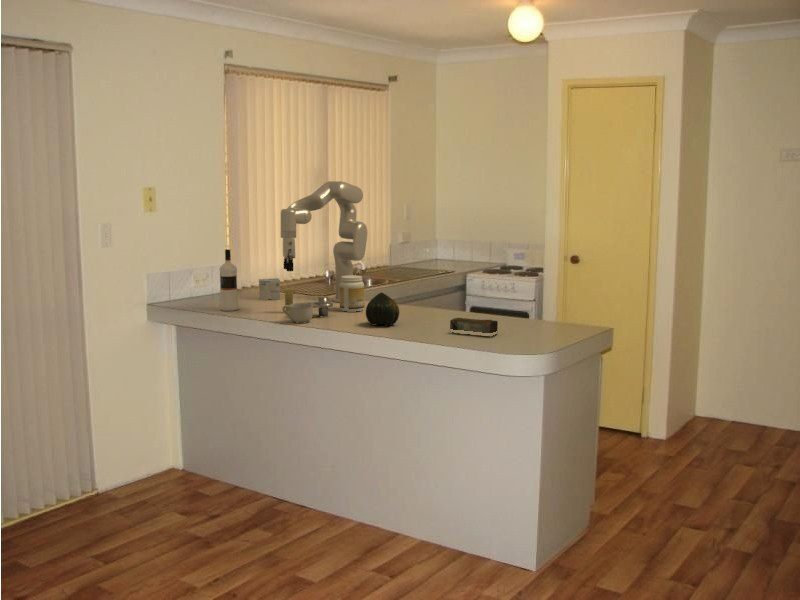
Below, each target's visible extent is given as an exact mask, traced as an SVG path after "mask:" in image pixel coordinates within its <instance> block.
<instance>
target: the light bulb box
mask: <svg viewBox="0 0 800 600" xmlns="http://www.w3.org/2000/svg"><path fill="white" fill-rule="evenodd" d="M258 289H259V292H258V293H259V300H260V299H261V300H260V301H269V300H268V299H276V300H281V280H280V279H279V278H277V277H276V278H258Z"/></svg>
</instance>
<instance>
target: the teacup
mask: <svg viewBox="0 0 800 600" xmlns="http://www.w3.org/2000/svg"><path fill="white" fill-rule="evenodd" d="M285 307H287V308H288V309H289V313H287V312H286V311H285ZM313 309H314V308H313V305H312V304H308V303H304V302H294V303H293V304H291V305H289V306H288V305H285V304H284V305H283V306H282V309H281V310H282V312H283V314H284V315H286V316H287V317H288V318H289V319H290V320H291V321H293V323H295V322H298V323H297V324H304V323H303V322H307V323H309V322H310V321H311V320H312V318H313V315H314V313H313V311H314V310H313ZM308 321H309V322H308Z"/></svg>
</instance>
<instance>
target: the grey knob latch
mask: <svg viewBox="0 0 800 600" xmlns="http://www.w3.org/2000/svg"><path fill="white" fill-rule="evenodd" d="M303 303H308V304H312V305H313V309H318V317H319V316H328V317H329V308H332V307H333V306H334V303H333V301H332V302H331V301H329V298H328V296H319V297H318V301H313V302H312V301H311V302H310V301H309V302H307V301H305V302H303Z"/></svg>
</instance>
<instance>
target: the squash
mask: <svg viewBox="0 0 800 600" xmlns="http://www.w3.org/2000/svg"><path fill="white" fill-rule="evenodd" d="M365 308H366V309H365V317H366V320H367V321H368V323H369V324H370V325H372V324H379V325H384V326H385V325H390V326H392V325H394V324H396V323H397V322H398V320H399V317H400V308H399V305H398V303H397V302H396V301H395V300H394V299H393V298H391V297H390V296H388V295H387V294H386V293H383V292H379V293H378V294H376V295H375V296H374V297H373V298H372V299H370V301H369V302H368V304H367V305H366V307H365ZM391 324H392V325H391Z"/></svg>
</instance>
